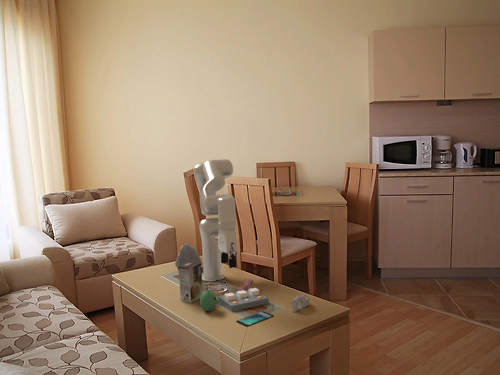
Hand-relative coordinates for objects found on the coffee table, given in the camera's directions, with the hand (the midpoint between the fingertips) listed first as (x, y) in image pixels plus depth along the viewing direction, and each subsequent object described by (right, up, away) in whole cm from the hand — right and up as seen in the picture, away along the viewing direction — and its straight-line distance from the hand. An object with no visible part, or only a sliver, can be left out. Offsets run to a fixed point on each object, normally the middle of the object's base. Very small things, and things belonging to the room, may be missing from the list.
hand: (228, 264), depth 203 cm
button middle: (+6, -16, +5) cm, 17 cm away
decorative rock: (-24, -12, +57) cm, 63 cm away
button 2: (+11, -15, +7) cm, 20 cm away
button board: (+6, -17, +4) cm, 19 cm away
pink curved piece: (+8, -16, +18) cm, 25 cm away
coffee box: (-17, -18, +11) cm, 27 cm away
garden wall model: (+31, -18, -5) cm, 36 cm away
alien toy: (-8, -19, -4) cm, 21 cm away
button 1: (0, -16, +2) cm, 16 cm away
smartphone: (+11, -20, -15) cm, 27 cm away
